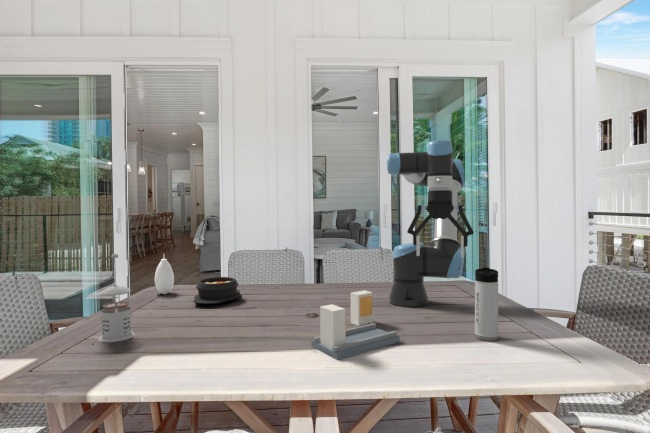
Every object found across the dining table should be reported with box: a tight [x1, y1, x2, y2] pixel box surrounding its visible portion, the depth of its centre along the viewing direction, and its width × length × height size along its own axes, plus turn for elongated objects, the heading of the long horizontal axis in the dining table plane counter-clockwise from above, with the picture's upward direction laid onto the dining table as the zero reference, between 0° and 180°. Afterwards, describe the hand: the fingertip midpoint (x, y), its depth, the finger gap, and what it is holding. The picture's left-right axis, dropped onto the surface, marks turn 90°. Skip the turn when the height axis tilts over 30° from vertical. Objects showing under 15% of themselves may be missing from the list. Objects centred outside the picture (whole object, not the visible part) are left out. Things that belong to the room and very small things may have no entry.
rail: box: [310, 304, 401, 361], centre depth 111 cm, size 12×22×12 cm, turn 124°
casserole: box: [192, 276, 242, 305], centre depth 163 cm, size 25×19×8 cm
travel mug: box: [474, 266, 499, 342], centre depth 115 cm, size 6×7×20 cm
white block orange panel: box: [350, 289, 374, 327], centre depth 130 cm, size 6×5×10 cm
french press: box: [98, 253, 136, 343], centre depth 119 cm, size 10×12×25 cm
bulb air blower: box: [154, 253, 175, 295], centre depth 176 cm, size 8×8×18 cm
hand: (439, 256), depth 127 cm, fingers open, 13 cm apart
